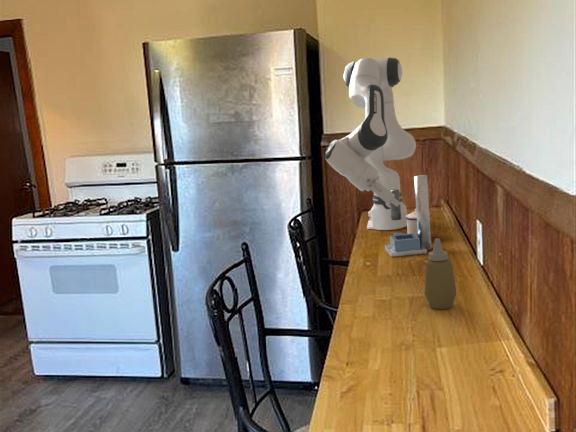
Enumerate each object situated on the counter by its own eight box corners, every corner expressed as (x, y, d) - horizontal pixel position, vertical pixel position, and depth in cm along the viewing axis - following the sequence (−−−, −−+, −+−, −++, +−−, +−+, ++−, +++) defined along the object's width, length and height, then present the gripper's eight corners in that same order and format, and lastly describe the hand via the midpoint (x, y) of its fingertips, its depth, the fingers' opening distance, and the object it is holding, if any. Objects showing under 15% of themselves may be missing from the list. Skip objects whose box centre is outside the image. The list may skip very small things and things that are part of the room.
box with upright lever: (381, 244, 224) (376, 175, 219) (422, 240, 224) (418, 171, 219) (391, 256, 206) (385, 182, 201) (435, 252, 206) (431, 177, 201)
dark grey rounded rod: (390, 218, 204) (388, 189, 202) (400, 217, 204) (398, 188, 202) (392, 220, 201) (390, 191, 199) (402, 219, 201) (400, 190, 199)
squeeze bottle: (426, 312, 151) (422, 243, 148) (424, 301, 159) (419, 236, 156) (459, 310, 150) (455, 241, 147) (455, 300, 158) (451, 234, 155)
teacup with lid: (432, 240, 222) (430, 210, 219) (407, 242, 224) (405, 211, 221) (431, 233, 233) (429, 204, 231) (407, 234, 235) (405, 205, 233)
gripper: (377, 175, 189) (410, 201, 191) (367, 166, 209) (397, 191, 211) (364, 190, 190) (397, 217, 192) (355, 180, 210) (385, 204, 212)
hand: (397, 203), depth 202 cm, fingers closed on dark grey rounded rod, 3 cm apart
